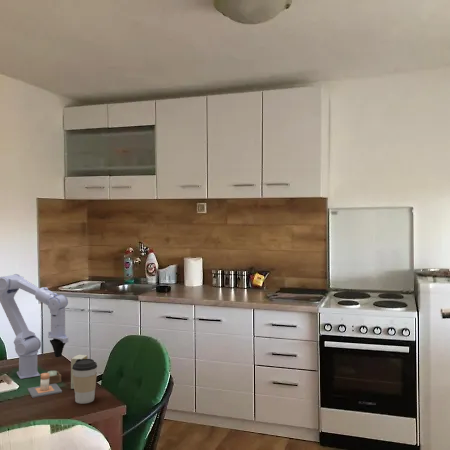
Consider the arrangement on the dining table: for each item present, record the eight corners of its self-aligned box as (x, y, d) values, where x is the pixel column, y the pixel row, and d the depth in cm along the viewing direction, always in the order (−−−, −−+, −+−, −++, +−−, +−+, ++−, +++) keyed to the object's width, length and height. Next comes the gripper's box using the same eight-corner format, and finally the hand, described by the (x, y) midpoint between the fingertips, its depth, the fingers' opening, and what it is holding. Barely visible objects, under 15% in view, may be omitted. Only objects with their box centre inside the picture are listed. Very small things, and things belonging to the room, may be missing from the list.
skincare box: (80, 390, 199) (80, 359, 198) (70, 389, 200) (70, 358, 199) (88, 384, 205) (88, 354, 205) (78, 383, 206) (78, 354, 205)
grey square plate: (27, 389, 199) (27, 387, 199) (56, 384, 204) (56, 383, 204) (32, 397, 190) (32, 396, 190) (62, 392, 196) (62, 390, 196)
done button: (46, 378, 209) (46, 371, 209) (55, 377, 211) (55, 370, 211) (48, 381, 206) (48, 374, 206) (57, 379, 208) (57, 372, 208)
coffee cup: (102, 397, 191) (102, 358, 191) (88, 406, 183) (88, 365, 182) (81, 394, 194) (81, 355, 194) (67, 402, 186) (67, 362, 185)
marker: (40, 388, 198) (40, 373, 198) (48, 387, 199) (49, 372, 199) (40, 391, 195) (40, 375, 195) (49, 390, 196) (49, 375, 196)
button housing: (43, 380, 209) (43, 373, 209) (57, 377, 212) (57, 370, 212) (46, 384, 204) (46, 377, 204) (61, 382, 207) (61, 375, 207)
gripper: (41, 322, 213) (41, 354, 214) (56, 329, 203) (56, 362, 203) (57, 320, 218) (57, 351, 219) (73, 326, 208) (73, 358, 208)
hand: (58, 356), depth 211 cm, fingers closed
